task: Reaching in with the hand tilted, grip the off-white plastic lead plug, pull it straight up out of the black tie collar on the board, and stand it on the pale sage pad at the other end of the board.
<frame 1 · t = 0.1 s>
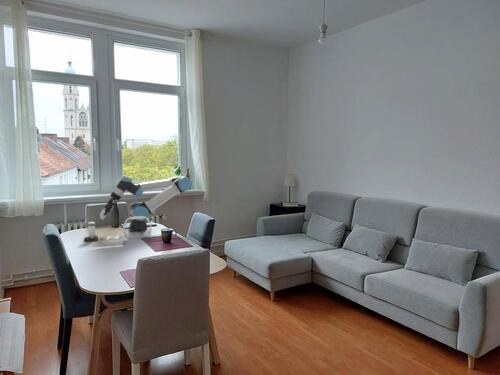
hand: (101, 217, 271), 15 cm above the table, tool tilted 35°, fingers open, 13 cm apart
headset: (138, 240, 263), on the table
cable board: (102, 240, 260), on the table
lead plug: (92, 240, 257), point 1 cm above the table, touching cable board
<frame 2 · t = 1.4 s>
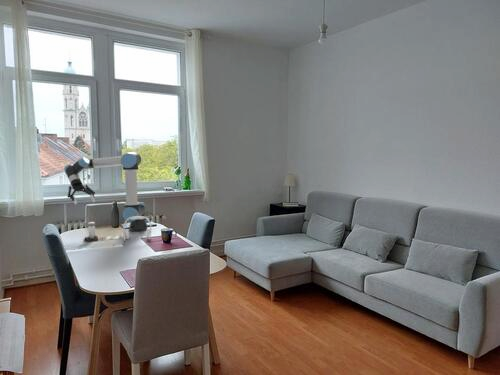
hand: (85, 202, 266), 27 cm above the table, tool tilted 45°, fingers open, 13 cm apart
nothing on the table moved.
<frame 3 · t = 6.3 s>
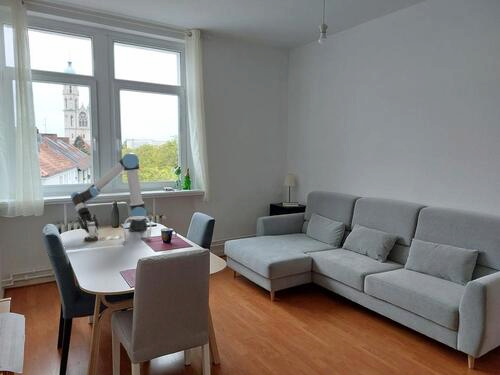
hand: (94, 235, 254), 6 cm above the table, tool tilted 45°, fingers closed on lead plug, 4 cm apart
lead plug: (92, 240, 257), point 1 cm above the table, touching cable board, gripper
everything else where it was.
when the fingers open (7 cm above the table, at t = 11.5 s): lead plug drops 1 cm, resting on cable board.
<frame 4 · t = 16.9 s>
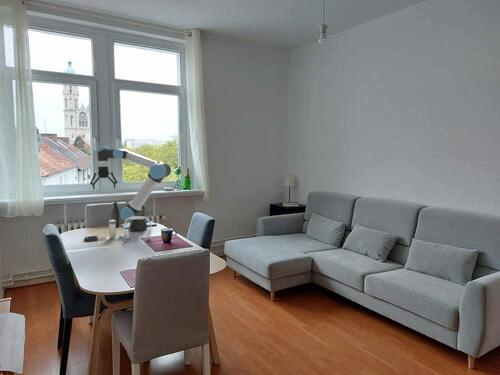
hand: (104, 192, 283), 33 cm above the table, tool pointing down, fingers open, 13 cm apart
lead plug: (112, 237, 263), point 2 cm above the table, touching cable board
everything else where it was.
at the end: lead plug 0.1 cm from the target spot on the cable board, point 1.7 cm above the cable board's base; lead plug tilted 0°; the gripper is holding nothing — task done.
